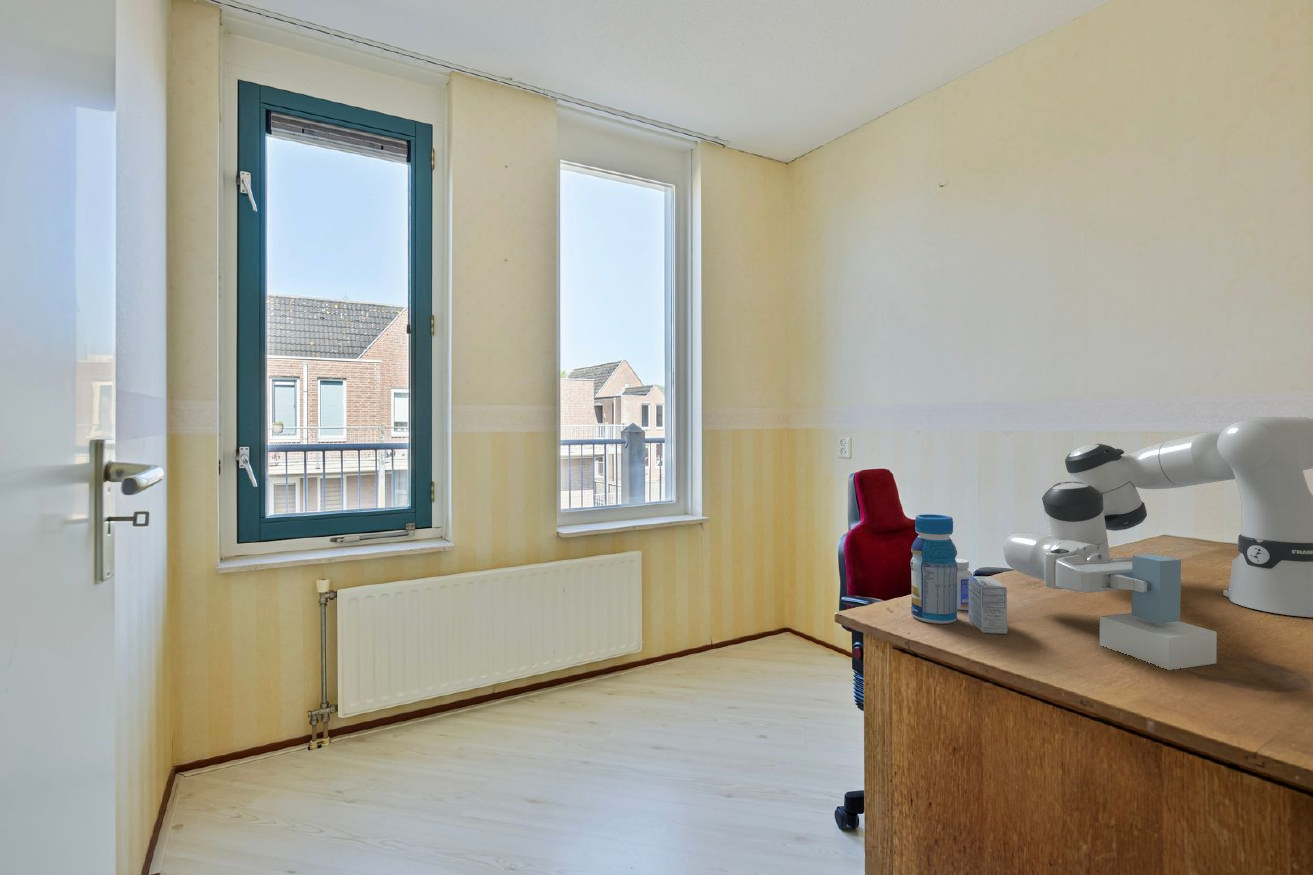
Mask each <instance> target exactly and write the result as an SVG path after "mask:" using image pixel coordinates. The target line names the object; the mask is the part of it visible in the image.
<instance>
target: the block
mask: <svg viewBox="0 0 1313 875" xmlns="http://www.w3.org/2000/svg"><path fill="white" fill-rule="evenodd" d="M1131 558H1132V578H1134V579H1143V580H1147V581H1150V582H1151V591H1149V592H1139V591H1135V590H1131V613H1132V615H1133V616H1136V617H1139V618H1143V619H1146V620H1149V621H1153V622H1156V623H1159V624H1160V623H1169V622H1177V621H1180V622H1181V600H1182V599H1181V596H1182V595H1181V594H1182V592H1181V589H1182V587H1181V584H1182V581H1181V580H1182V579H1181V578H1182V559H1179V558H1175V557H1170V556H1164V555H1159V554H1154V553H1150V554H1149V553H1147V554H1136V555H1132V557H1131Z"/></svg>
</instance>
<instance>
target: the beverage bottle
mask: <svg viewBox="0 0 1313 875" xmlns="http://www.w3.org/2000/svg"><path fill="white" fill-rule="evenodd" d="M914 523H915V525H914V528H915V533H917V534H918V535H917V536H916V538H915V539H914V541H913V542H912V545H911V550H910V551H911V554H912V557H911V559H910V568H911V570H910V571H911V579H910V580H911V607H910V608H911V609H910V612H911V613H910V614H911V615H912V617H913V618H914V619H916V620H919V621H921V622H925V623H929V624H936V625H937V624H938V625H947V624H952V623H955V622H956V621H957V619H958V611H957V571H958V564H957V562H956V560H955V558H956V557H957V555H958V550H957V547H956V545H955V543H954V541H953V540H952V539H951V537H950V536H953V533H954V520H953V517H951V516H950V515H949V516H948V515H943V514H934V513H933V514H926V513H925V514H918V515H916V516H915V520H914Z"/></svg>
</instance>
